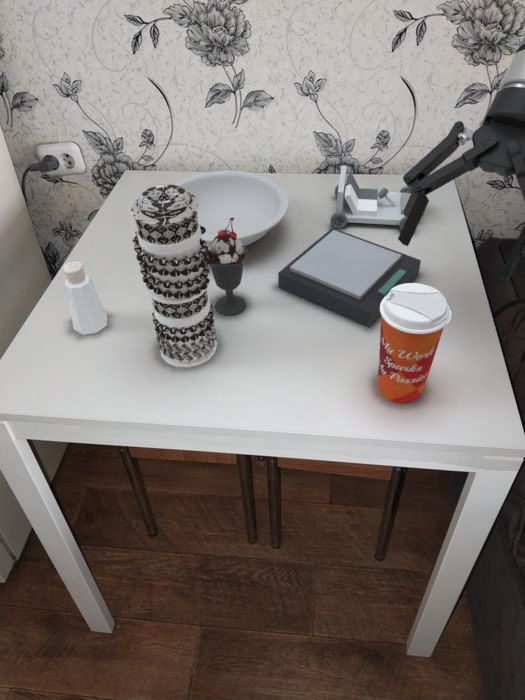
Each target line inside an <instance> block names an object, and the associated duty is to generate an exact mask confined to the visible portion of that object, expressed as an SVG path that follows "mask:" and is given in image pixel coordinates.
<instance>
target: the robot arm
mask: <svg viewBox="0 0 525 700" xmlns="http://www.w3.org/2000/svg"><path fill="white" fill-rule="evenodd" d="M469 141H472V147H471V148H469V149H468V150H466V151H464V152H463V153H462V154H461V155H460V156H459V157H457V158H455V159H453V160H452V161H451V162H449V163H447V164H445V165H444V166H442V167H440V168H439V169H437V168H438V167H439V166H440V165H441V164H442V163H444V162H445V161H446V159H448V158H450V156H451V155H453V154H454V153H455V152H456V151H457V150H458V149H459V147H460V146H464V145H465V144H466V143H468V142H469ZM478 168H480V169H481V170H482V171H483V172H485V173H493V174H497V175H498V176H500V177H503V178H507V177H510V176H511V177H512V176H515V178H516V181H517V184H518V187H519V189H520V190H519V191H520V193H521V196H522V199H523V202H524V203H525V34H524V35H523V36H522V39H521V41H520V44H519V46H518V48H517V50H516V52H515V54H514V55H513V58H512V60H511V61H510V64H509V65H508V68H507V70H506V72H505V74H504V76H503V78H502V80H501V82H500V85H499V90H498V91H497V92H496V93H495V94H494V98H493V100H492V101H491V104H490V106H489V108H488V109H487V113H486V114H485V117H484V119H483V121H482V123H481V125H480V126H479V127H478V128H477V129H473V128H471V127H469V126H465V124H464V122H463V121H461V120H458V121H456V122H455V123H454V124H453V126H452V127H451V129H450V130H449V133H448V134H447V136H445V138H443V140H441V141H440V142H439V143H438V144H437V145H435V146H434V148H432V149H431V150H430V151H429V152H428V153H427V154H426V155H425V156H424V157H423V158H421V159H420V160H419V161H418V162H417V163H416V164H415V165H413V167H412V168H410V169H409V170H408V171H407V172H406V173H405V174H404V175H403V177H402V180H403V182H404V183H405V186H408V188H410V189H411V190H412V193H411V195H410V197H409V200H408V202H407V204H406V206H405V208H404V213H403V214H404V215H405V217H407V220H406V222H405V224H404V226H403V229H402V230H400V233H399V235H398V238H397V240H398V241H399V242H400V243H401V245H403V246H406V247H409V245H410V242H411V241H412V238H413V236H414V234H415V232H416V229H417V228H418V225H419V223H420V221H421V219H422V217H423V216H424V214H425V210H426V208H427V206H428V204H429V202H430V199H429V198H428V197H427V196H428V195H429V194H431V193H433V192H434V191H436V190H438V189H440V188H442V187H443V186H445V185H446V184H449V183H450V182H452V181H453V180H455V179H457V178H459V177H461V176H462V175H464V174H466V173H467V172H473V171H474V170H476V169H478ZM436 169H437V170H436ZM431 172H433V173H432V174H430V173H431ZM429 174H430V175H429ZM423 213H424V214H423ZM422 215H423V216H422ZM521 257H523V258H525V224H524V225H523V227H522V229H521V231H520V233H519V235H518V237H517V240H516V241H515V244H514V246H513V248H512V250H511V252H510V253H509V256H508V258H507V260H506V262H505V264H504V266H503V268H502V270H501V273H500V274H499V276H500V279H501V280H502V281H503V282H506V283H509V281H510V279H511V277H512V275H513V274H514V271H515V269H516V267H517V265H518V263H519V261H520V260H521Z"/></svg>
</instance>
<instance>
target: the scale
mask: <svg viewBox="0 0 525 700" xmlns="http://www.w3.org/2000/svg"><path fill="white" fill-rule="evenodd" d="M421 262H422V259H419V258H416V257H413V256H411V255H408V254H406V253H403V252H400V251H398V250H394V249H391V248H388V247H386V246H384V245H381V244H378V243H375V242H373V241H370V240H367V239H364V238H362V237H359V236H356V235H353V234H351V233H347V232H345V231H342V230H339V229H338V228H334V227H331V228H330V229H329V230H327V232H325V233H324V234H323V235H322V236H321V237H319V238H318V239H317V240H316V241H315V242H313V243H312V244H311V245H309V247H307V248H306V249H305V250H304V251H303V252H301V253H300V254H299V255H298V256H297V257H295V258H294V259H293V260H292V261H290V262H289V263H288V264H287V265H286V266H285V267H283V268H282V269H281V270H280V271H278V273H277V277H278V282H277V283H278V284H277V285H278V289H281V290H283V291H286V292H287V293H290V294H291V295H294V296H296V297H299V298H301V299H304V300H305V301H308V302H310V303H313V304H315V305H317V306H320V307H321V308H323V309H326V310H328V311H330V312H333V313H335V314H337V315H340V316H342V317H343V318H347V319H349V320H351V321H353V322H355V323H358V324H360V325H363V326H364V327H367V328H371V326H372V325H374V323H375V322H376V321H377V320H378V319H379V318H380V317H382V315H381V313H380V304H381V301H382V300H383V299H384V297H385V296H386V295H387V294H388V293H389V291H390V290H391V289H392V288H394V287H395V286H398V285H401V284H405V283H413V281H414V280H415V279H416V278H417V277H418V276H419V273H420V269H421V268H420V267H421Z"/></svg>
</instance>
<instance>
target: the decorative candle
mask: <svg viewBox="0 0 525 700" xmlns="http://www.w3.org/2000/svg"><path fill="white" fill-rule="evenodd" d="M198 206H199V202H198V200H197V197H195V196H194V195H192V194H191V193H189V192H187V191H186V190H185V189H183V188H182V187H180V186H176V185H172V184H167V183H165V184H158V185H154V186H151V187H148V188H147V189H145V191H143V192H142V193H141V194H140V195H139V198H138V199H136V200H135V201H134V202H133V204H132V206H131V208H130V212H131V216H132V217H134V220H135V225H136V229H135V233H134V235H135V236H134V237H133V238H132V243H133V244H134V246H133V251H134V252H135V253H136V260H137V262H138V265H139V267H140V274H141V275H142V282H143V283H144V284H145V288H146V292H147V295H148V296H150V298H151V299H152V302H151V306H152V310H153V311H152V313H151V316H152V322H153V324H154V325H155V326H154V331H155V335H156V341H157V342H158V344H157V346H158V349H159V352H160V355H161V358H162V359H163V360H164V362H166V364H168V365H171V366H174V367H177V368H192V367H198V366H200V365H203V364H204V363H206V362H208V361H209V360H210V359H211V358H213V356H214V355H215V354H216V350H217V348H218V342H217V339H218V338H217V336H216V333H217V330H216V328H214V327H215V326H216V324H215V319H214V310H213V305H212V303H211V301H210V296H209V293H208V287H209V284H210V281H211V279H210V278H209V273H210V267H209V266H208V265H209V264H208V265H207V263H206V262H207V261H208V260H209V257H208V256H207V255H208V254H207V252H206V251H207V249H208V246H207V245H206V241H205V240H203V239H201V238H200V237H201V235H202V234H204V233H205V232H206V229H205V228H204V227H202V226H201V225H200V224H199V221H198V219H197V218H198V216H197V208H198ZM200 245H201V246H202V248H201V247H200Z"/></svg>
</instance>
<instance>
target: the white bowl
mask: <svg viewBox="0 0 525 700" xmlns="http://www.w3.org/2000/svg"><path fill="white" fill-rule="evenodd" d="M171 185H176V186H180V187H182V188H183V189H185V190H186V191H187V192H189V193H191V194H192V195H194V196H195V197H197V200H198V202H199V206H198V208H197V216H198V218H197V219H198V221H199V224H200V225H201V226H202V227H204V228H205V229H206V232H205V233H204V234H202V235H201V237H200V238H201V239H203V240H205V241H206V245H207V246H210V244H211V243H212V241H213V239H214V238H215V237H216V236H218V235H219V233H220V231H221V230H225V229H226V228H227V227H228V225H229V222H230V225H229V227H228V228H227V230H226V232H229V233H230V232H232V228H233V232H235V233H236V234H237V237H236V238H237V239H239V240H240V241H241V243H242V244H243V245H244V246H245V247H247V246H248V245H251V244H254V242H256V241H257V242H258V240H260V239H261V238H263V237H264V236H265V235H266V234H267V233H268V232H269V231H270V230H271V229H273V228H274V227H276V226H277V225H279V223H280V222H281V221H283V219H284V218H285V216H286V215H287V213H288V211H289V208H290V197H289V194H288V192H287V190H286V189H285V188H284V186H282V185H281V184H280V183H279V182H277V181H276V180H274V179H272V178H270V177H267V176H265V175H263V174H259V173H255V172H251V171H245V170H230V169H229V170H228V169H226V170H213V171H206V172H202V173H197V174H193V175H190V176H187V177H185V178H182V179H180V180H178V181H175V182H174V183H172V184H171ZM233 217H234V220H233V221H230V218H233ZM231 222H232V228H231ZM200 247H201V248H202V246H201V245H200Z"/></svg>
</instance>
